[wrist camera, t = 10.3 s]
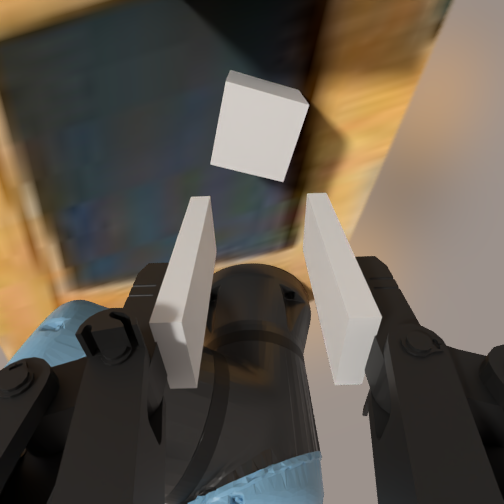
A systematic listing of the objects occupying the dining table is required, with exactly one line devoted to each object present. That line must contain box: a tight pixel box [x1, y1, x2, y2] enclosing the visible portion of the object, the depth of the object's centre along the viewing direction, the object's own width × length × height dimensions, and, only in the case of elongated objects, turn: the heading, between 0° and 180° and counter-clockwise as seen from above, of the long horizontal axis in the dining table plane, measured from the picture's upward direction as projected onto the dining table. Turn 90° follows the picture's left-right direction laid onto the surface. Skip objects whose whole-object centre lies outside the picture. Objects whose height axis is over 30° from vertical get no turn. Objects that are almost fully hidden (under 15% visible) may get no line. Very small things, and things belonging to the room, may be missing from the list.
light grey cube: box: [210, 70, 309, 182], centre depth 26 cm, size 6×6×6 cm
